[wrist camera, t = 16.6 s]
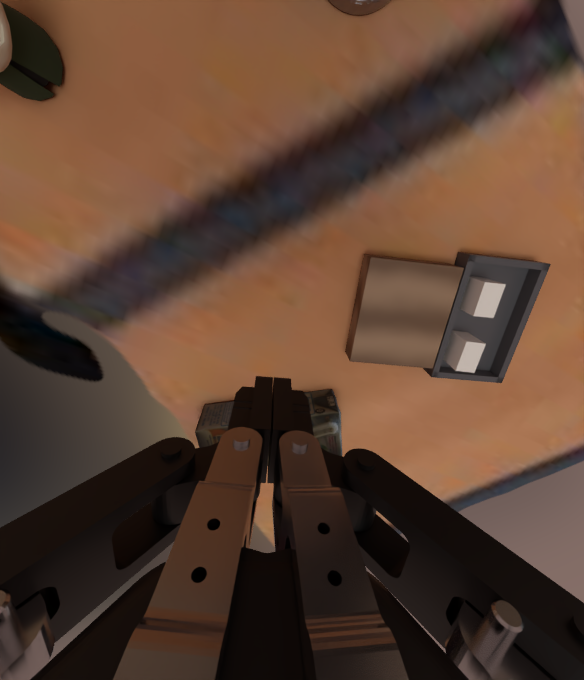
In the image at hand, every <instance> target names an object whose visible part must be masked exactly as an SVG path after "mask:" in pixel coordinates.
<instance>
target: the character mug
mask: <svg viewBox="0 0 584 680" xmlns="http://www.w3.org/2000/svg"><path fill="white" fill-rule="evenodd" d="M62 72H63V67H62V63H61V59H60V56H59V52H58V49H57V47H56V46H55V44H54V43H53V42H52V40H51V39H50V37H49V36H48V35H47V33H46V32H45V30H44V29H42V28H41V27H40V26H38V25H37V24H36V23H34V22H33V21H32V20H30V19H29V18H28V17H26V16H24V15H23V14H21V13H20V12H18V11H16V10H15V9H13V8H11V7H9V6H8V5H6V4H4V3H2V2H0V83H1V84H2V85H4V86H5V87H7V88H8V89H10V90H12V91H13V92H15V93H17V94H18V95H20V96H22V97H24V98H28V99H32V100H37V101H41V100H44V99H47V98H50V97H52V96H53V95H54V94H53V93H51V92H50V91H48V90H47V89H45V88H44V86H46V85H47V84H48V81H50V82H52V83H54V84H55V85H57V86H60V85H61V82H62Z"/></svg>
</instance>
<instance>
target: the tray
mask: <svg viewBox="0 0 584 680" xmlns="http://www.w3.org/2000/svg"><path fill="white" fill-rule="evenodd" d="M455 265H456V266H459V267H463V268H464V270H463V273H462V276H461V279H460V282H459V286H458V289H457V292H456V295H455V298H454V302H453V305H452V308H451V311H450V314H449V318H448V321H447V324H446V327H445V330H444V334H443V337H442V340H441V343H440V346H439V350H438V353H437V356H436V359H435V362H434V366H433V368H423V369H424V370H425V371H426V372H427V373H428V374H429V375H430V376H431V377H437V378H448V379H460V380H472V381H484V382H496V383H502V381H503V379H504V376H505V374H506V371H507V369H508V366H509V364H510V362H511V359H512V357H513V354H514V352H515V349H516V347H517V345H518V342H519V340H520V337H521V335H522V332H523V330H524V328H525V325H526V323H527V320H528V318H529V315H530V313H531V311H532V308H533V306H534V303H535V301H536V298H537V296H538V294H539V291H540V289H541V286H542V284H543V281H544V279H545V277H546V274H547V272H548V269H549V267H550V264H548V263H542V262H537V261H530V260H521V259H513V258H504V257H496V256H487V255H479V254H470V253H462V252H458V255H457V258H456V261H455ZM470 276H473V277H482V278H487V279H490V280H493V281H496V282H500V283H503V284H506V285H505V288H504V291H503V294H502V296H501V299H500V302H499V304H498V307H497V310H496V313H495V315H494V318H488V317H478V316H472V315H470V314H468V313H466V312H465V311H463V310H461V309H459V308H460V305H461V302H462V299H463V296H464V292H465V289H466V286H467V283H468V280H469V277H470ZM452 330H453V331H461V332H468V333H469V334H471V335H473V336H474V337H476V338H477V339H479V340H481V341H482V342H484V343H486V345H485V348H484V350H483V353H482V355H481V358H480V360H479V363H478V365H477V368H476V370H475V373H471V372H462V371H455V370H454V369H453V368H452V367H451V366H450V365H449V364H447V363H446V362H445V361H444V360H443V358H444V355H445V351H446V348H447V345H448V342H449V339H450V336H451V333H452Z"/></svg>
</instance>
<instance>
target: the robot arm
mask: <svg viewBox="0 0 584 680" xmlns="http://www.w3.org/2000/svg"><path fill="white" fill-rule="evenodd" d="M329 1H330V2H331V3H332V4H333V5H334V6H335V7H337V8H338V9H340V10H341V11H343V12H346V13H349V14H352V15H365V14H369V13H373V12H375V11H377V10H379V9H381V8H382V7H384V6H385V5H386V4H387V3H388V2H389V1H391V0H329ZM272 384H273V392H272ZM268 454H269V457H268ZM267 464H268V482H267V483H274V491H273V500H272V509H273V524H274V540H275V552H272V553H262V552H259V551H256V550H253V549H250V542H251V536H252V530H253V524H254V518H255V512H256V505H257V498H258V496H259V493H260V485H261V483H266V474H267ZM148 503H149V504H148ZM138 510H139V511H138ZM376 511H378V512H379V513H380V514H381V515H383V516H384V517H385V518H386V519H387V520H388V521H389V522H391V523H392V524H393V525H394V526H395V527H396V528H398V529H399V530H400V531H401V532H402V533H403V534H404V535H405V537H406V538H407V540H408V542H409V543H408V542H407V541H406V540H405V539H404V538H402V537H401V536H400V535H399V534H398V533H397V532H396V531H395V530H394V529H392V528H391V527H390V526H389V525H388V524H387V523H386V522H384V521H383V520H382V519H381V518H380V517H379V516H378V515H377V514H376ZM135 512H136V513H135ZM125 519H126V520H125ZM172 542H174V543H173V546H172V548H171V551H170V553H169V556H168V559H167V561H166V562H164V563H162V564H160V565H159V566H157V567H155V568H154V569H152V570H151V571H149V572H148V573H147V574H145V575H144V576H143V577H141V578H140V579H139V580H138V581H137V582H136V583H134V584H133V585H132V586H131V587H130V588H129V589H128V590H127V591H126V592H125V593H124V594H123V595H122V596H120V597H119V598H118V599H117V600H116V601H115V602H114V603H113V604H112V605H111V606H109V608H107V609H106V610H105V611H104V612H103V613H102V614H101V615H100V616H99V617H98V618H97V619H95V620H94V621H93V622H92V623H91V624H90V625H89V626H88V627H87V628H86V629H85V630H84V631H82V632H81V633H80V634H79V635H78V636H77V637H76V638H75V639H74V640H73V641H71V642H70V643H69V644H68V645H67V646H66V647H65V648H64V649H63V650H62V651H61V652H59V653H58V654H57V655H56V656H55V657H54V658H53V659H52V660H51V661H50V662H49V663H48V661H49V659H50V657H51V655H52V652H53V648H54V643H55V642H56V641H58V640H59V639H60V638H61V637H62V636H63V635H65V634H66V633H67V632H68V631H69V630H70V629H72V628H73V627H74V626H75V625H76V624H77V623H79V622H80V621H81V620H82V619H83V618H84V617H86V616H87V615H88V614H89V613H90V612H92V611H93V610H94V609H95V608H96V607H97V606H99V605H100V604H101V603H102V602H103V601H104V600H106V599H107V598H108V597H109V596H110V595H112V594H113V593H114V592H115V591H116V590H117V589H119V588H120V587H121V586H122V585H123V584H124V583H125V582H127V581H128V580H129V579H130V578H131V577H133V576H134V575H135V574H136V573H137V572H139V571H140V570H141V569H142V568H143V567H144V566H145V565H147V564H148V563H149V562H150V561H151V560H152V559H154V558H155V557H156V556H157V555H158V554H160V553H161V552H162V551H163V550H164V549H165V548H166V547H168V546H169V545H170V544H171V543H172ZM365 566H366V567H367V568H368V569H369V570H370V571H371V572H372V573H373V574H374V575H375V576H376V577H377V578H378V579H379V580H380V581H379V580H378V579H376V578H375V577H374V576H373V575H372V574H370V573H369V572H367V571H366V567H365ZM389 591H390V592H391V593H392V594H393V595H394V596H395V597H396V598H397V599H398V600H399V601H400V602H401V603H402V604H403V606H404V607H405V608H406V609H407V610H408V611H409V612H410V613H411V614H412V615H413V616H414V617H415V618H416V619H417V620H418V621H419V622H420V623H421V624H422V625H423V626H424V628H425V629H426V630H427V631H428V632H429V633H430V634H431V635H432V636H433V637H434V638H435V639H436V640H437V641H438V642H439V643H440V644H441V645H442V646H443V647H444V648H445V650H446V653H445V652H444V651H443V650H442V649H441V648H440V647H439V646H438V645H437V644H436V643H435V641H434V640H433V639H432V638H431V637H430V636H429V635H428V634H427V633H426V631H425V630H424V629H423V628H422V627H421V626H420V625H419V624H418V623H417V622H416V620H415V619H414V618H413V617H412V616H411V615H410V614H409V613H408V611H407V610H406V609H405V608H404V607H403V606H402V605H401V604H400V603H399V602H398V601H397V599H396V598H395V597H394V596H393V595H392V594H391V593H390V592H389ZM47 663H48V664H47ZM0 680H584V603H583V602H581V601H580V600H579V599H577V598H576V597H575V596H573V595H572V594H570V593H569V592H568V591H566V590H565V589H563V588H562V587H561V586H559V585H558V584H556V583H555V582H554V581H552V580H551V579H550V578H548V577H547V576H545V575H544V574H543V573H541V572H540V571H538V570H537V569H536V568H534V567H533V566H531V565H530V564H529V563H527V562H526V561H524V560H523V559H522V558H520V557H519V556H518V555H516V554H515V553H513V552H512V551H511V550H509V549H508V548H506V547H505V546H504V545H502V544H501V543H500V542H498V541H497V540H495V539H494V538H493V537H491V536H490V535H488V534H487V533H485V532H484V531H483V530H481V529H480V528H479V527H477V526H476V525H475V524H473V523H472V522H470V521H469V520H467V519H466V518H465V517H463V516H462V515H461V514H459V513H458V512H456V511H455V510H454V509H452V508H451V507H450V506H448V505H447V504H445V503H444V502H443V501H441V500H440V499H438V498H437V497H436V496H434V495H433V494H431V493H430V492H429V491H427V490H426V489H425V488H423V487H422V486H420V485H419V484H418V483H416V482H415V481H413V480H412V479H411V478H409V477H408V476H406V475H405V474H404V473H402V472H401V471H400V470H398V469H397V468H395V467H394V466H393V465H391V464H390V463H388V462H387V461H386V460H384V459H383V458H381V457H380V456H379V455H377V454H376V453H374V452H372V451H369V450H366V449H352V450H350V451H348V452H347V453H346V454H345V456H344V457H342V456H339V455H336V454H332V453H330V452H328V451H326V450H324V449H323V448H321V446H320V443H319V441H318V440H317V438H316V437H314V432H313V426H312V420H311V414H310V408H309V401H308V397H307V396H306V395H305V394H304V393H303V391H297V390H292V388H291V379H289V378H275V377H274V382H273V377H261V376H256V380H255V387H242V388H241V389H240V390H239V391H238V392H237V393H236V396H235V400H234V404H233V408H232V413H231V417H230V421H229V425H228V430H227V431H226V432H225V433H224V434H223V435H222V436H221V438H220V441H219V442H217V443H215V444H213V445H210V446H207V447H201V448H196V449H195V447H194V445H193V443H192V442H191V441H189V440H187V439H185V438H179V437H172V438H167V439H164V440H161V441H159V442H157V443H155V444H153V445H151V446H149V447H148V448H146V449H144V450H142V451H140V452H139V453H137V454H135V455H133V456H131V457H129V458H127V459H126V460H124V461H122V462H120V463H118V464H117V465H115V466H113V467H111V468H109V469H107V470H105V471H104V472H102V473H100V474H98V475H96V476H94V477H93V478H91V479H89V480H87V481H85V482H83V483H81V484H80V485H78V486H76V487H74V488H72V489H71V490H69V491H67V492H65V493H63V494H61V495H59V496H58V497H56V498H54V499H52V500H50V501H48V502H47V503H45V504H43V505H41V506H39V507H37V508H36V509H34V510H32V511H30V512H28V513H27V514H25V515H23V516H21V517H19V518H17V519H16V520H14V521H12V522H10V523H8V524H6V525H4V526H3V527H1V528H0Z"/></svg>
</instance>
